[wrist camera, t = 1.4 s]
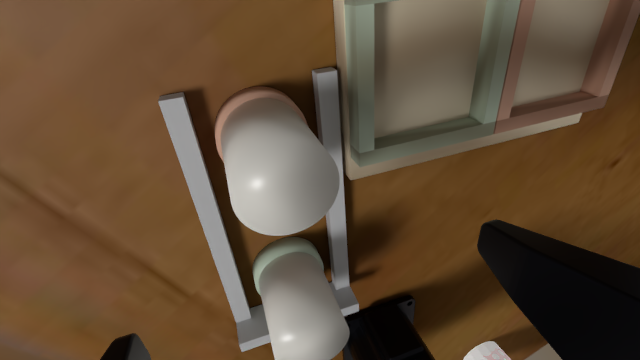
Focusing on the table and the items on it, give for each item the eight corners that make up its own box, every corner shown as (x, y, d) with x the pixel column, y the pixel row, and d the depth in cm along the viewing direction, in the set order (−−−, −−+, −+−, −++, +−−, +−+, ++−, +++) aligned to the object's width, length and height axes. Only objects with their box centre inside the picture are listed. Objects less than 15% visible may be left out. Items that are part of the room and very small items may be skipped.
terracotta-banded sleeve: (306, 158, 19) (346, 222, 14) (226, 177, 18) (238, 252, 13) (296, 79, 16) (341, 121, 11) (203, 95, 15) (208, 149, 10)
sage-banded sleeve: (320, 276, 24) (354, 354, 19) (259, 296, 23) (277, 383, 18) (314, 229, 21) (351, 302, 16) (245, 248, 20) (262, 333, 15)
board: (562, 116, 23) (596, 129, 21) (342, 170, 20) (359, 191, 18) (624, -83, 17) (679, -91, 16) (329, -58, 14) (352, -65, 12)
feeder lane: (345, 285, 25) (358, 311, 23) (237, 320, 23) (241, 351, 21) (331, 66, 16) (350, 78, 14) (159, 95, 15) (154, 113, 13)
